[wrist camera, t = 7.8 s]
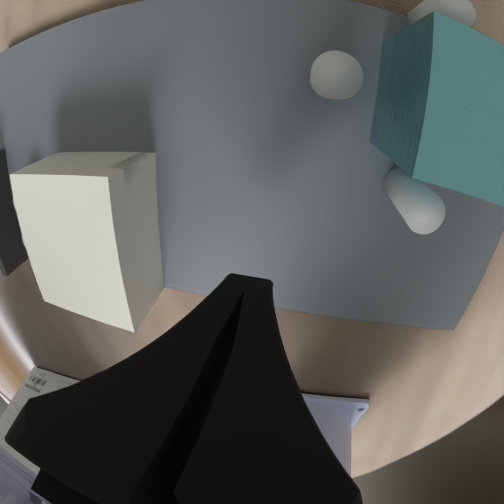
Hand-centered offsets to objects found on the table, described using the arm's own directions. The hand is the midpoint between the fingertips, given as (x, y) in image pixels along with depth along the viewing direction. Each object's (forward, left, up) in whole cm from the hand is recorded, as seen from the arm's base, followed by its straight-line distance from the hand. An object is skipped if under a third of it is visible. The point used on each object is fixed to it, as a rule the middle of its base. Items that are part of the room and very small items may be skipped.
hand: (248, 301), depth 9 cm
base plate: (+3, +3, -5) cm, 7 cm away
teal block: (+7, -5, -4) cm, 10 cm away
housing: (0, +8, -4) cm, 9 cm away
